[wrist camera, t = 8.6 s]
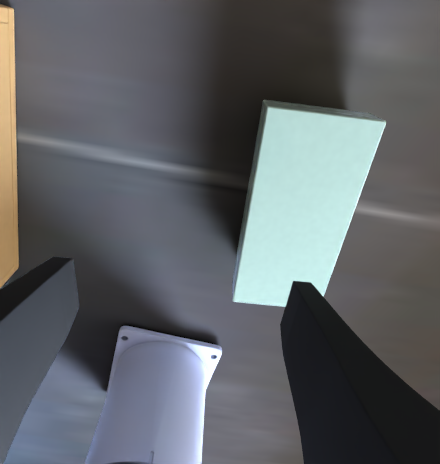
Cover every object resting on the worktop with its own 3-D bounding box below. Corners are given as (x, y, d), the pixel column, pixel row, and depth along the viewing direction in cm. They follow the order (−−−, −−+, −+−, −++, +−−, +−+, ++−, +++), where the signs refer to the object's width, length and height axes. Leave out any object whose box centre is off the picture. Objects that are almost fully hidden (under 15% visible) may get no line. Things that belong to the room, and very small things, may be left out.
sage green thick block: (307, 276, 22) (318, 310, 20) (231, 269, 22) (232, 301, 19) (360, 107, 17) (387, 121, 14) (260, 95, 17) (267, 106, 14)
